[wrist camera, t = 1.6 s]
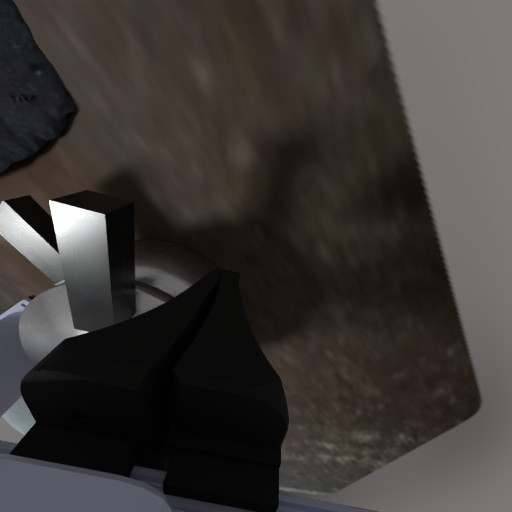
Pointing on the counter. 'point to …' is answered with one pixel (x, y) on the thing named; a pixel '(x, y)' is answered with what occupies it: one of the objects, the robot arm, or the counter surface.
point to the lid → (88, 274)
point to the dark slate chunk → (26, 91)
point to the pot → (146, 251)
